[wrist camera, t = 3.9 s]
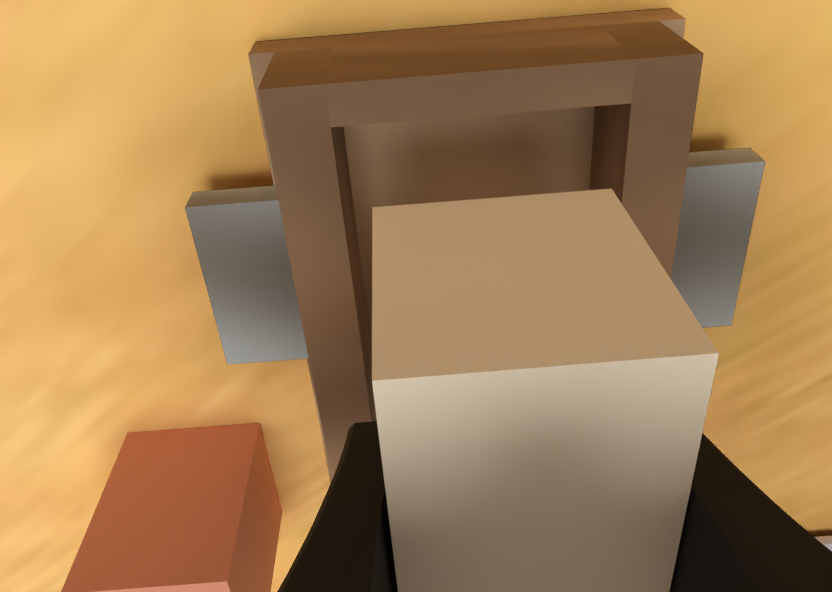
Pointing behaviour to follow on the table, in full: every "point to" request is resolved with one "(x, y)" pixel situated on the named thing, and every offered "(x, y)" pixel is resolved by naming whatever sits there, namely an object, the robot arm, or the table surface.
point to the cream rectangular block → (533, 395)
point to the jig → (458, 173)
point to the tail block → (184, 515)
